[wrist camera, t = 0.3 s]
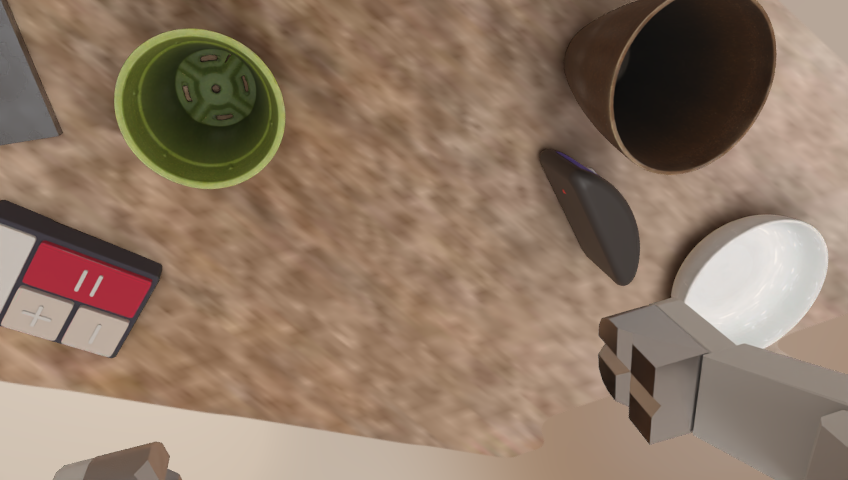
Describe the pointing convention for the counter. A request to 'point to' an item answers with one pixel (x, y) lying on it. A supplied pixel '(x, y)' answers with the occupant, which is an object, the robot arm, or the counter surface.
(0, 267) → the calculator
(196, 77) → the plant pot
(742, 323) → the serving bowl
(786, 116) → the counter surface
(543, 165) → the dark grey slab
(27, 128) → the mounting plate
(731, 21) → the plant pot
